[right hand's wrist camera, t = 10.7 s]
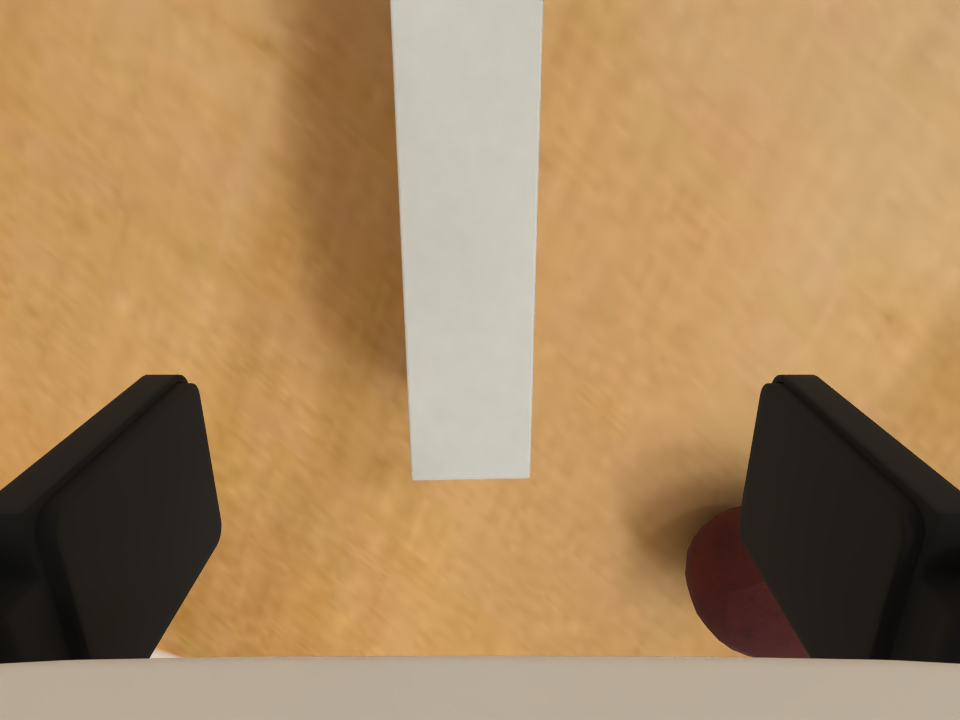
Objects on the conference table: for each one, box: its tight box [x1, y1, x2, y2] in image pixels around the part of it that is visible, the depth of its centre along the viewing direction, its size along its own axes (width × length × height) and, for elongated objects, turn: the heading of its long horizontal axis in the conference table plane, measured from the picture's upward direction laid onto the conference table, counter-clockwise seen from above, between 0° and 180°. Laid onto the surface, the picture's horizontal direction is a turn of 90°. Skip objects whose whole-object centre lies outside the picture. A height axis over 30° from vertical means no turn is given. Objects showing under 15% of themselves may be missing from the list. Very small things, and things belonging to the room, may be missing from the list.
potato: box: [685, 507, 811, 659], centre depth 31 cm, size 7×8×7 cm
